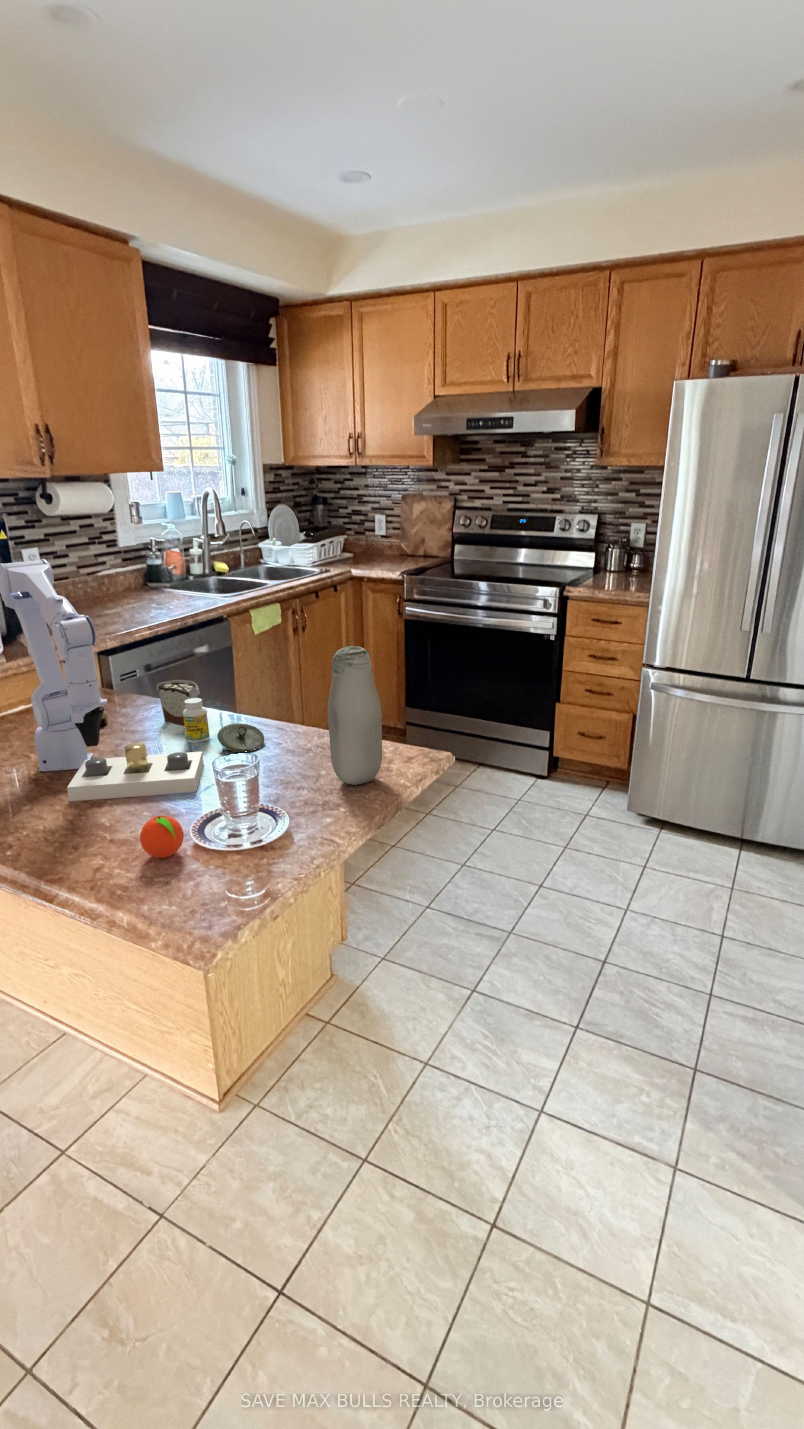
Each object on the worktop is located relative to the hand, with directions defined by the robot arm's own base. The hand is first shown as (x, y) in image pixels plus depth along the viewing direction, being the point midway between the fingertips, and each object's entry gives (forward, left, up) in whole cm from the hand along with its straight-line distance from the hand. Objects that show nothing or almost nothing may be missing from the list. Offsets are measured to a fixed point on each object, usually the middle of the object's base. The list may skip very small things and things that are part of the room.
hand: (92, 745), depth 150 cm
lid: (+28, +17, -9) cm, 34 cm away
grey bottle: (+52, -8, -9) cm, 53 cm away
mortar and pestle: (-10, +38, -9) cm, 40 cm away
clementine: (+18, -32, -9) cm, 38 cm away
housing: (+8, 0, -9) cm, 12 cm away
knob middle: (+8, 0, -6) cm, 10 cm away
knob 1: (0, 0, -9) cm, 9 cm away
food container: (+13, +36, -9) cm, 39 cm away
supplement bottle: (+17, +23, -9) cm, 30 cm away
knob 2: (+16, 0, -9) cm, 18 cm away
